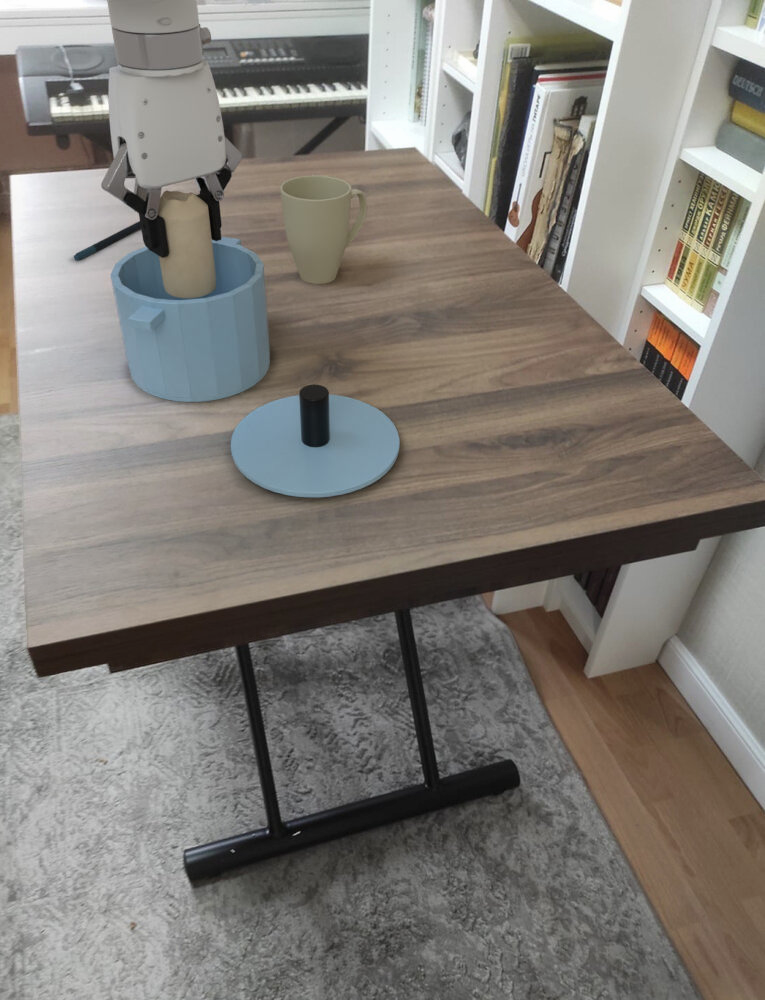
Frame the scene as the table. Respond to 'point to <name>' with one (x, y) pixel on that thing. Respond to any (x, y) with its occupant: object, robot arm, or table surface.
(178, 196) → the candle
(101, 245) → the pen
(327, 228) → the mug
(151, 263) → the pot
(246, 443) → the lid
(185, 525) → the table surface
